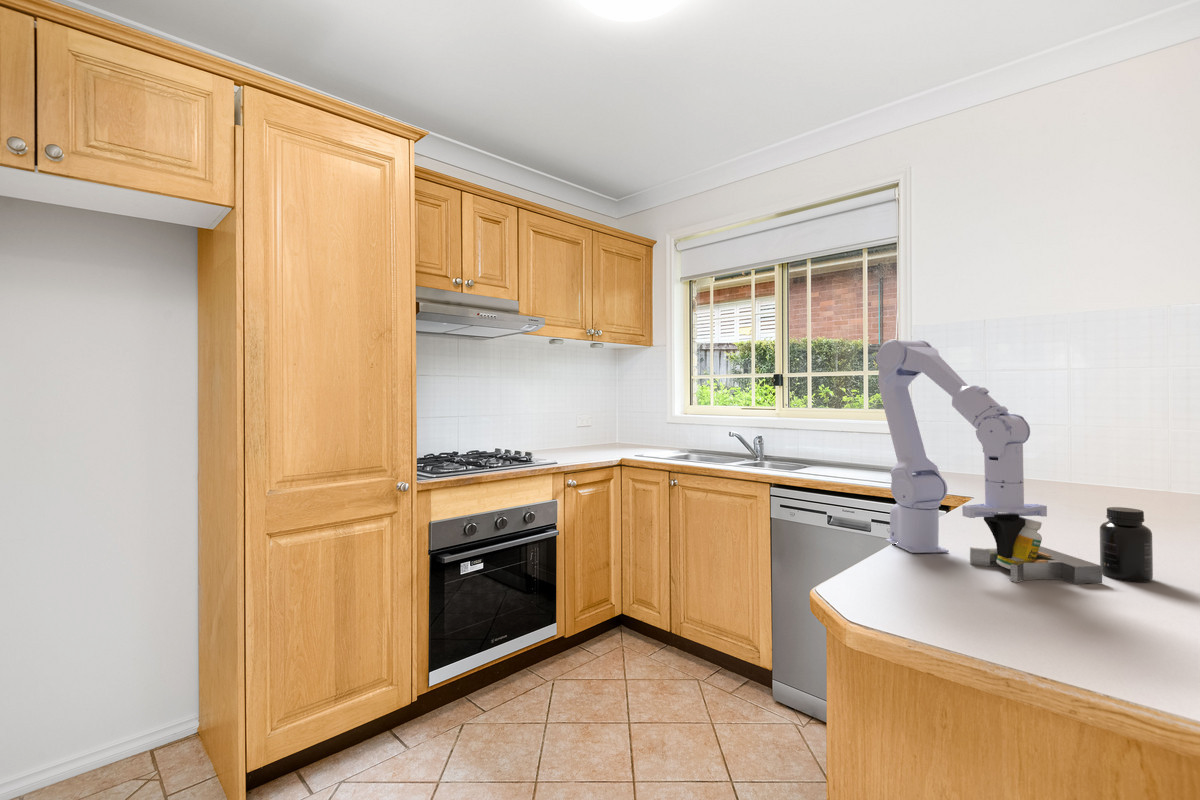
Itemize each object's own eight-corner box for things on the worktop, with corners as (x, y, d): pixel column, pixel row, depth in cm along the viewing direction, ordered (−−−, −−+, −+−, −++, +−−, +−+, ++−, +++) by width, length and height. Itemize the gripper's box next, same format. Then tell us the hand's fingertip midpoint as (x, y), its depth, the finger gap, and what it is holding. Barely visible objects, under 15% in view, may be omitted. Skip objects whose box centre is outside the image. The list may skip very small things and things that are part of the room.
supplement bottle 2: (1130, 571, 102) (1130, 505, 102) (1164, 584, 95) (1164, 513, 95) (1089, 570, 102) (1089, 505, 102) (1120, 582, 96) (1120, 513, 95)
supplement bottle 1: (999, 562, 105) (1014, 513, 105) (1034, 574, 101) (1049, 524, 101) (992, 563, 102) (1007, 512, 101) (1027, 576, 98) (1043, 523, 97)
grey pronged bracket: (962, 560, 108) (962, 544, 108) (1033, 559, 109) (1033, 542, 109) (1021, 585, 94) (1021, 566, 94) (1102, 583, 95) (1102, 564, 95)
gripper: (982, 484, 96) (983, 563, 96) (1061, 483, 97) (1063, 561, 97) (953, 479, 103) (955, 553, 103) (1027, 478, 104) (1029, 551, 104)
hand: (1005, 556), depth 101 cm, fingers closed, pressing on supplement bottle 1
